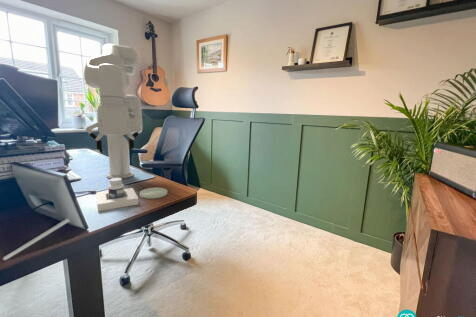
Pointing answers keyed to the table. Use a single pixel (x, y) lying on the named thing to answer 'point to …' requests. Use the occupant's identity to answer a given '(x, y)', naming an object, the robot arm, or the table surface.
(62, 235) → the table surface
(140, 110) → the robot arm
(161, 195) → the coaster
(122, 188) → the pill bottle
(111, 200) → the pocket holder
